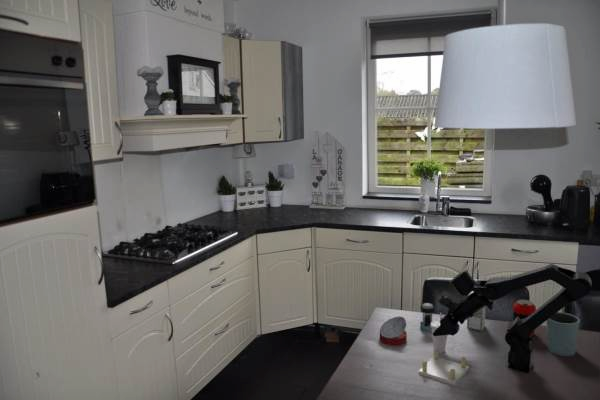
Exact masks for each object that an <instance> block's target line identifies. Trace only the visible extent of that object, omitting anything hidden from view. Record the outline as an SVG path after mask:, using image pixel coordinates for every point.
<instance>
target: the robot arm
mask: <svg viewBox="0 0 600 400" xmlns="http://www.w3.org/2000/svg"><path fill="white" fill-rule="evenodd" d="M548 281H552V282H554V283H556V284H558V285H559V286H561V287H562V288H561V289H560V290H559V291H558V292H557V293H556V294H554V295H553V296H552V297H551V298H550V299H548V300H547V301H545V303H543V304H541V306H539V307H538V308H536V311H534V312H533V313H532V314H531V315H529V316H528V317H527V318H525V319H520V318H519V317H517V318H516V319H515V320H514V321H513V320H512V321H511V322H509V323H508V325H507V327H506V331H505V336H504V340H505V342H506V344H507V345H508V346H509V350H508V352H507V364H508V365H507V368H508V369H511V370H515V371H519V372H522V373H525V374H529V373H530V372H531V371H532V369H533V367H534V364H533V355H534V354H533V353H534V350H533V349H532V346H533V338H531V337H530V335H531V334H532V332H533V331H534V330H535V331H536V330H537V329H538V327H540V326H542V325H543V324H544V323H545V322H547V320H548V319H549V318H550V317H552V316H553V315H554V314H556V313H557V312H560V311H561V310H562V309H564V308H565V307H566V306H567V305H568V304H570V303H574V302H578V301H580V300H581V299H583V298H585V297H588V296H589V295H590V294H591V293H592V287H593V286H592V279H591V277H590V275H589V274H587V273H585V272H581V271H578V272H576V271H574V270H572V269H569V268H564V267H561V266H557V265H556V264H552V263H549V264H547V265H545V266H543V267H539V268H536V269H532V270H529V271H526V272H522V273H518V274H516V275H512V276H499V277H491V278H489V279H487V280H486V279H484V280H483V279H478V280H475V279H474V277H472V276H471V275H470V273H469V272H468V271H467V270H463V271H462V272H460V273H458V274H457V275H455V276H453V278H452V279H451V280H450V281H449V283H450V285H452V287H453V288H454V289H455V290H456V291H457V293H459V294H460V296H462V297H461V298H460V299H459V298H457V297H456V296H455V295H453V294H451V293H449V292H448V291H446V290H444V291H443V292H442V294H441V296H440V297H439V300H438V304H440V305H442V307H443V306H444V307H445V308H447V311H448V312H447V313H446V314H445V315H443V316H442V318H441V320H440V319H439V321H440V326H439V327H438V328H437V329H436V330H435V331H434V332H433V335H434V336H442V335H447V336H452V337H454V336H455V335H457V334H458V333H459V331H460V325H464V323H465V321H467V319H468V318H469V317H470V318H471V317H473V316H474V314H475V313H476V312H478V311H479V310H481V309H482V308H483V307H485V306H486V307H487V308H488V309H489V310H490V311H492V310H493V307H494V302H495V301H496V300H500V299H501V298H503V297H505V296H507V295H508V294H510V293H511V292H514V291H516V290H519V289H523V288H526V287H531V286H534V285H537V284H541V283H544V282H548ZM472 291H474V292H473V293H472V294H470V295H469V296H468V294H469V293H471V292H472ZM463 296H466V297H463ZM459 323H460V324H459Z"/></svg>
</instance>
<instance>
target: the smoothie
mask: <svg viewBox="0 0 600 400" xmlns="http://www.w3.org/2000/svg"><path fill="white" fill-rule="evenodd" d="M442 317H443V313H442V312H439V320H432V321H433V322H431V328H432V330H431V336H432V344H433V351H434V350H439V352H440V353H441V352H442V353H445V351H446V345H447V338H448V335H442V336H434V335H433V332H434V331H435V330H436V329H437V328H438V327H439V326H440V320H441V318H442Z"/></svg>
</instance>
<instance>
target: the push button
mask: <svg viewBox="0 0 600 400" xmlns="http://www.w3.org/2000/svg"><path fill="white" fill-rule="evenodd" d="M419 307H420V311H421V312H422V320H421V321H420V324H419V325H420V329H421V331H432V328H431V322H433V321H434V320H433V313H435V309H436V307H435V306H434V305H433V303H430V302H424V303H423V304H422V305H420V306H419Z"/></svg>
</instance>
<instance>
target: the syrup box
mask: <svg viewBox="0 0 600 400" xmlns="http://www.w3.org/2000/svg"><path fill="white" fill-rule="evenodd" d="M473 292H474V291H472V292H471V293H469V294H468V295H467V297H468V296H469V295H470V294H472V293H473ZM486 307H487V306H485V307H483V308H482V309H481V310H479V311H478V312H476V313H475V314H474V316H473V317H471V318H470V317H469V318H468V319H466V322H467V323H466V328H467V329H470V330H474V331H480V332H482V331H483V330H484V328H485V326H486Z"/></svg>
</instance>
